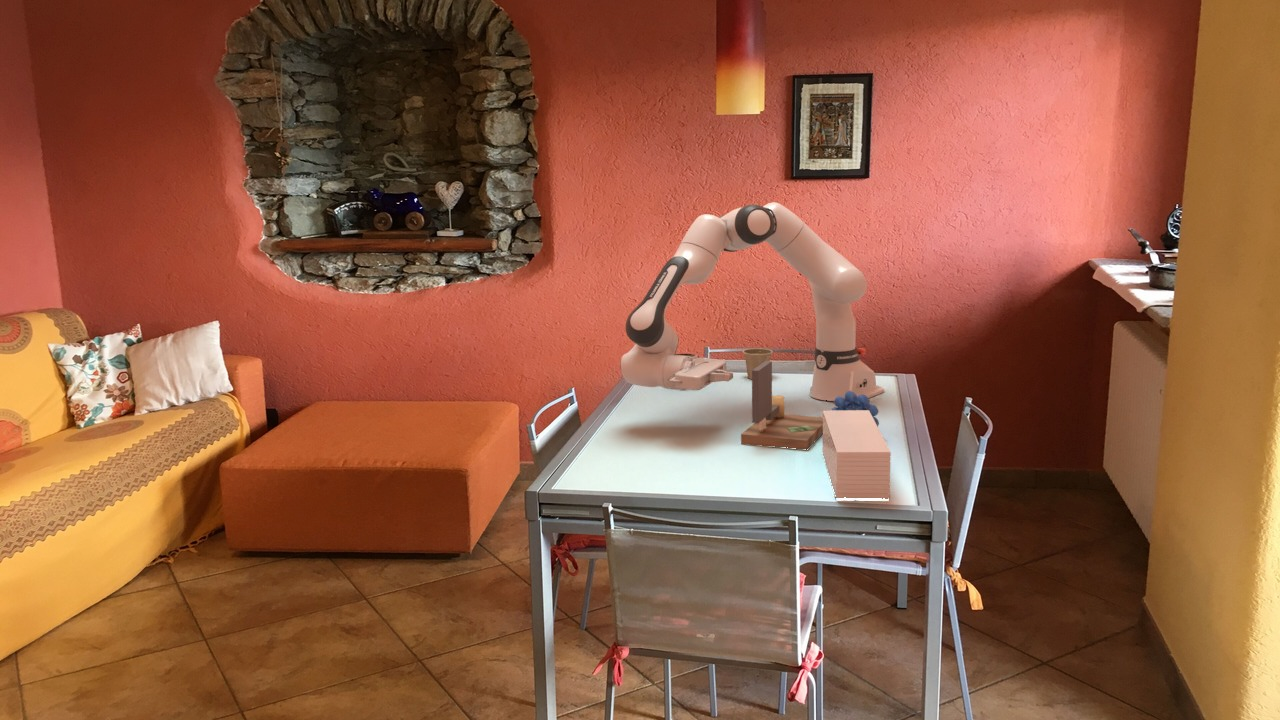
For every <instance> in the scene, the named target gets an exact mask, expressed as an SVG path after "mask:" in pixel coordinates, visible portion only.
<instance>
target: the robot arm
mask: <svg viewBox="0 0 1280 720" xmlns="http://www.w3.org/2000/svg"><path fill="white" fill-rule="evenodd" d="M763 242H765V243H767V244H768V245H769V246H770V247H771V248H772V249H773V250H774V251H775V252H776V253H777V254H778V255H779V256H780V257H781V258H783V259H784V261H786V262H787V263H788V264H789V265H790V266H791V267H792V269H793V270H795V271H797V272H798V273H800V274H801V275H802V276H803V277H805V278H806V279H807V281H808V284H809V286H810V290H811V296H812V302H813V308H814V309H813V310H814V313H815V326H816V328H815V329H816V330H815V334H816V336H815V338H816V339H815V341H816V342H815V343H816V346H815V348H814V353H813V354H814V358H813V360H814V362H815V364H814V368H813V375H812V381H811V382H812V384H811V386H810V388H809V389H810V392H809V395H810V397H812V398H813V399H816V400H821V401H826V400H827V401H829V402H834V401H835V398H836V397H838V396H840V397H844V398H845V393H846V392H848V391H851V392H854V393H855V394H856V395H857V397H858V396H859V395H861V394H863V395H866V396H867V397H868V398H869V399H870V398H872V397H875V396H877V395H880V394H883V393H885V388H884V387H882V386H881V385H878V384H877V378H876V374H875V371H874V370H872V369H871V368H870V367H869V366H868V365H867V364H866V363H864V362H863V361H862V360H861V358H860V355H861V356H865V355H866V351H867V350H866V348H864V347H858V348H857V347H856V333H857V332H856V326H857V325H856V324H857V323H856V319H855V317H854V313H853V309H852V303H856V302H858V301H859V300H861V299H862V298H863V297H864V295H865V293H866V291H867V288H868V287H867V285H868V283H867V282H868V281H867V278H866V276H865V275H864V273H863V272H862V271H861V270H860V269H858V268H857V267H856V266H855V265H854V264H853V263H851V261H849V260H848V259H847V258H846V257H845V256H844V255H842V254H841V253H840V252H838V251H837V250H836V249H835V248H833V247H832V246H831V245H829V244H828V243H827V242H825V241H824V240H823V239H822V237H820V236H819V235H818V234H817V233H816V232H814V231H813V230H812V228H810V226H808V224H806V223H805V222H804V220H802V219H801V218H800V217H799V216H798V215H796V214H795V213H794V212H792V211H791V210H790V209H788V207H786V206H784V205H783V204H781V203H779V202H775V201H774V202H773V201H772V202H768V203H766V204H764V205H763V206H761V205H758V204H747V205H744V206H743V207H742V206H741V207H738V208H735V209H733V210H730V211H729V212H728V213H726V214H722V215H721V216H720V217H719V216H716V215H714V214H708V213H707V214H706V213H705V214H704V213H703V214H701V215H699V216H697V218H696V219H695V220H694V221H693V222H692V224H691V225H690V227H689V228H688V230H687V231H686V232H685V235H684V236H683V238H682V240H681V242H680V244H679V246H678V248H677V250H676V252H675V253H674V255H673V256H672V257H671V258H670V259H668V261H666V263H665V264H664V265H663V267H662V268H661V270H660V272H659V273H658V275H657V276H656V278H655V280H654V281H653V283H652V285H651V286H650V288H649V289H648V291H647V293H646V295H645V296H644V297H643V300H642V301H641V302H639V304H638V305H637V306H636V307H635V308H634V309H632V311H631V312H630V313H629V315H628V317H627V319H626V322H625V332H626V333H625V334H626V335H627V337H628V339H629V340H630V341H632V342H633V343H634V346H633V347H632V348H631V349H630V350H629V351H628V352H626V353H624V354H623V355H622V356H621V358H620V359H621V360H620V371H621V376H622V378H623V379H624V380H625V382H627V383H628V384H630V385H633V386H638V387H646V388H657V387H660V388H663V389H668V390H679V391H686V390H688V391H701V390H702V389H704V388H706V387H707V386H709V385H711V384H712V383H718V382H719V383H720V382H730V381H731V380H733V379H734V372H732V371H727V362H726V361H725V360H722V359H718V358H717V359H716V358H711V357H700V356H699V355H698V354H695V355H686V356H684V355H675V354H677V350H678V347H679V342H680V341H679V336H678V333H677V332H676V330H675V329H674V327H673V326H672V325H671V324H670V323H669V322H668V321H667V320H666V310H667V308H668V307H669V305H670V303H671V302H672V300H673V298H674V297H675V295H676V293H677V291H678V290H679V288H680V287H681V286H683V285H684V284H686V285H690V286H691V285H692V286H693V285H699V284H702V283H704V282H705V283H706V281H707V280H708V279H709V278H710V277H711V275H712V273H713V272H714V270H715V268H716V266H717V263H718V261H719V259H720V256H721V254H722V253H723V251H725V252H730V253H735V252H738V251H742V250H747V249H750V248H752V247H754V246H755V245H759V244H761V243H763ZM698 356H699V358H698Z"/></svg>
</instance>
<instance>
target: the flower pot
mask: <svg viewBox="0 0 1280 720" xmlns="http://www.w3.org/2000/svg"><path fill="white" fill-rule="evenodd" d="M742 353H743V357H744V359H745V365H746V367H745V368H746V374H747V379H749V380H752V370H753V369H755V368H756V367H758V366H759V365H761V364H762V363H764V362H765V361H771V357H772V354H773V350H772V349H769V348H761V347H760V348H758V347H757V348H746V349H744V350H742Z"/></svg>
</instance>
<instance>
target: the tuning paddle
mask: <svg viewBox="0 0 1280 720" xmlns="http://www.w3.org/2000/svg"><path fill="white" fill-rule="evenodd" d="M784 414H785V396H783V395H773V362H772V361H771V360H770V361H765V362H764V363H762V364H761V365H759V366H758V367H756V368H755V369H753V370H752V379H751V416H752V417H751V419H752V420H751V423H752V424H754V423H759V430H763V429H764V428H765V427H766V420H772V419H773V418H774V417H784Z"/></svg>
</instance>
